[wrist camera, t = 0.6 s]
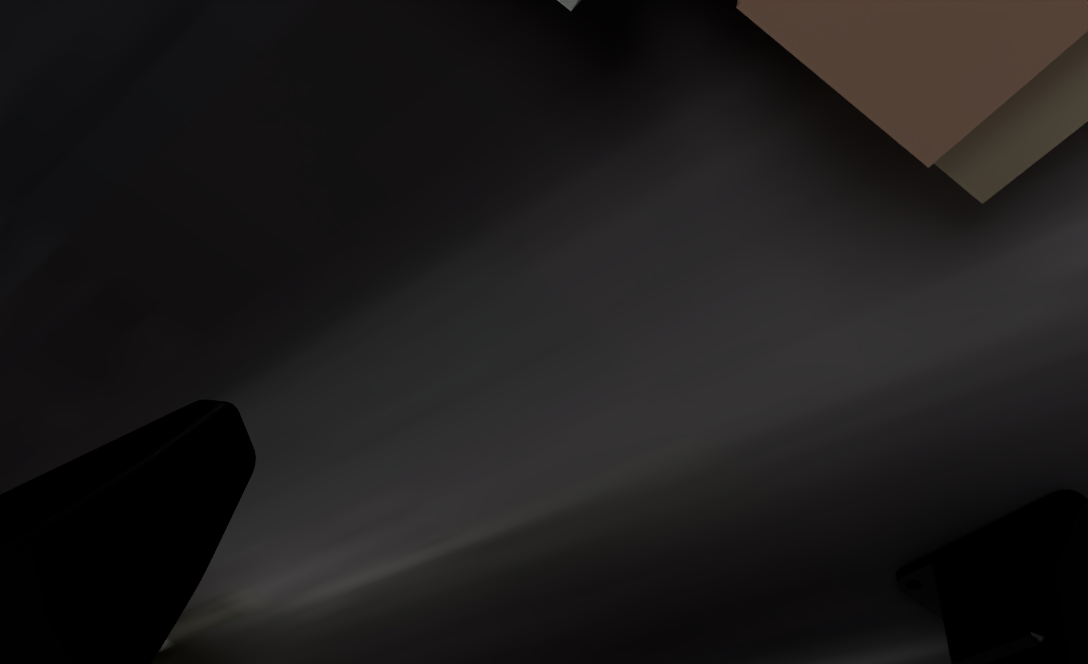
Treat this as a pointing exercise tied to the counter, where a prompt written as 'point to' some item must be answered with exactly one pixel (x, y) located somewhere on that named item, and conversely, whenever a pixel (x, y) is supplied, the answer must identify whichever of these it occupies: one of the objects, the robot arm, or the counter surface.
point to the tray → (569, 3)
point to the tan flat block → (1023, 126)
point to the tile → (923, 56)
